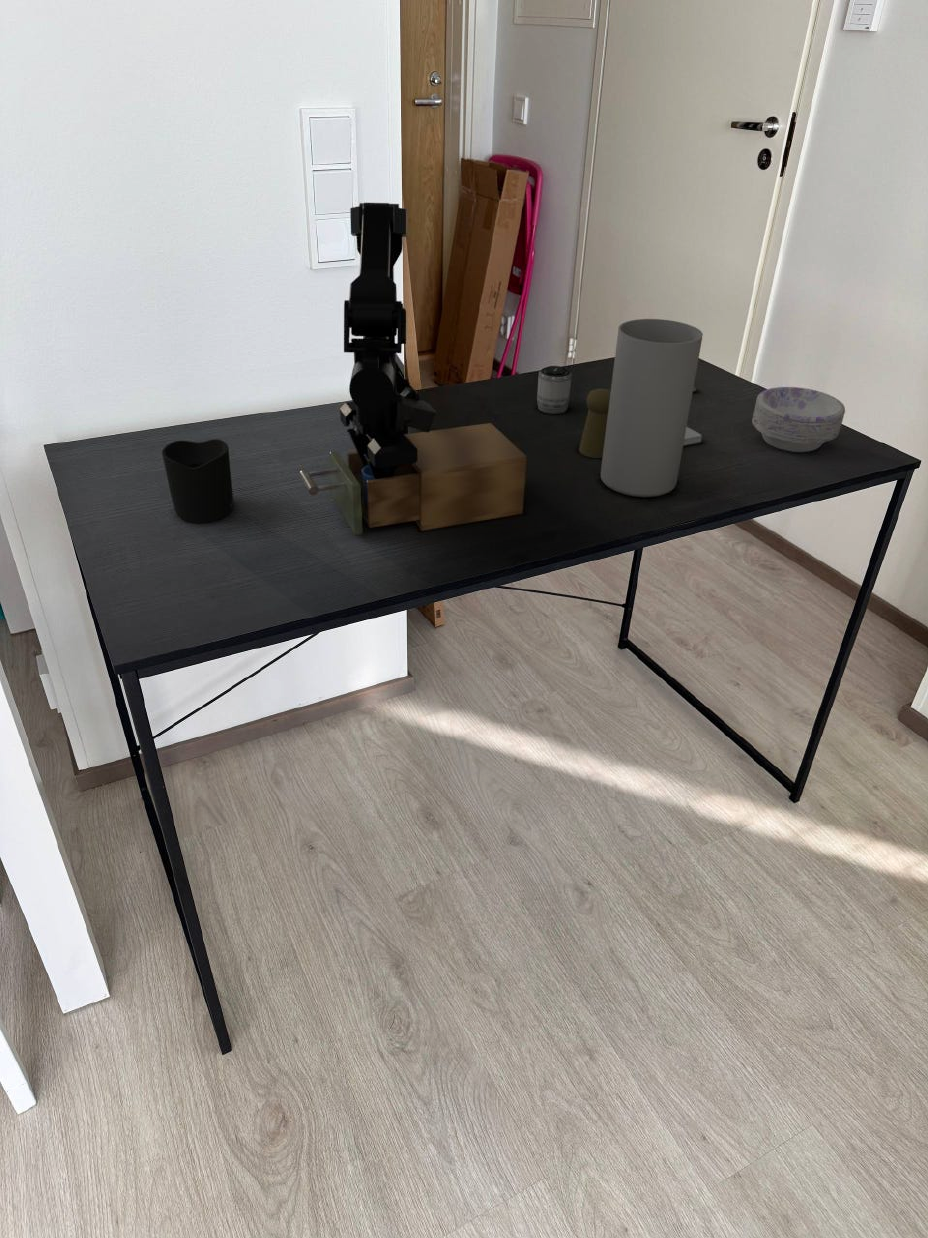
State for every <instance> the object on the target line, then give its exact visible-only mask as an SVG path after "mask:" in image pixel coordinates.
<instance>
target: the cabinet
mask: <svg viewBox="0 0 928 1238" xmlns="http://www.w3.org/2000/svg"><path fill="white" fill-rule="evenodd" d="M404 435H405V436H406V437H407V438H408V439H409V440H410V441H411V442H412V443H413V444H414V445H415V446H416V448H417V449H418V461H417V462H416V463H413V464H412V465H413V467H414V468H415V469H416V470H417V472H418V473H419V474H420V520H415V521H414V523H415V524H416V525H417V527H419V529H420V530H421V532H422V531H429V530H435V529H440V528H446V527H447V528H448V527H452V526H458V525H459V526H460V525H465V524H471V523H474V522H475V523H476V522H481V521H488V520H493V519H499V518H505V517H511V516H516V515H517V516H518V515H522V514H523V513H524V498H525V487H526V485H525V484H526V472H527V471H526V469H527V455H526V454H525V453H524V452H523V451H521V450H520V449H519V448H518V447H517V446H516V445H515V444H514V443H513V442H512V441H510V439H508V437H506V435H504V434H503V433H502V432H501V431H500V430H499V429H498V428H497V427H495V425H493V423H491V422H488V423H481V424H473V425H465V426H459V427H457V426H456V427H451V428H450V427H449V428H443V429H435V430H430V432H423V431H421V432H419V431H418V432H412V433H408V434H404Z"/></svg>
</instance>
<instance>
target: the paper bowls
mask: <svg viewBox="0 0 928 1238" xmlns="http://www.w3.org/2000/svg"><path fill="white" fill-rule="evenodd" d="M845 413H846V408H845V405H844V403H842V401H841V400H839V398H836V397H835V396H833V395H831V394H828V393H827V392H826V393H825V392H823V391H819V390H816V389H811V388H807V387H797V386H778V387H771V388H768V389H765V390H763V391H760V393H759V394H758V395H757V397H756V401H755V406H754V410H753V415H752V419H751V422H752V426H753V427H754V428H755V429H756V430H757V431H758V432H759V433H761V436H762V439H763V440H764V442H766V443H767V444H768V445H770V446H772V447H773V448H776V449H779V450H782V451H786V452H791V453H807V452H813V451H815V450H817V449H819V448H821V446H822V445H823V444H824V443H826V442H830V441H833V440H834V439H836V438H837V437H838V436H839V434H840V432H841V427H842V424H843V421H844V416H845Z"/></svg>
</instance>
